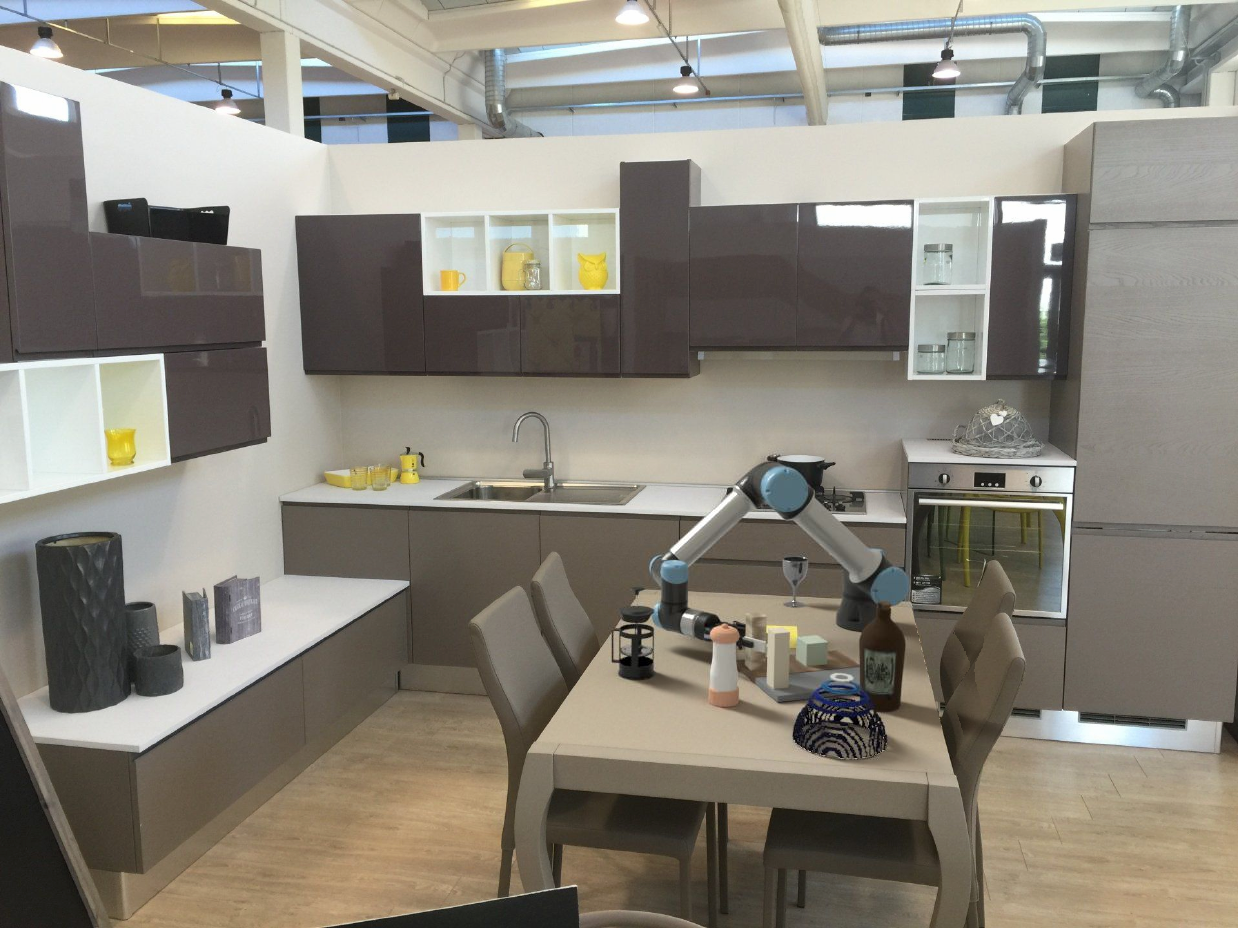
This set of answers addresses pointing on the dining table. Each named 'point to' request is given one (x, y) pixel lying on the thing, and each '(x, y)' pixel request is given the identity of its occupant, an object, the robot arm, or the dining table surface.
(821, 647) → the sage block
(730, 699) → the pepper shaker
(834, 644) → the dining table surface
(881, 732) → the blue ringed dome
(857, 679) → the gray board with post
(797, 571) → the wine glass
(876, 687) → the olive oil
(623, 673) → the french press
